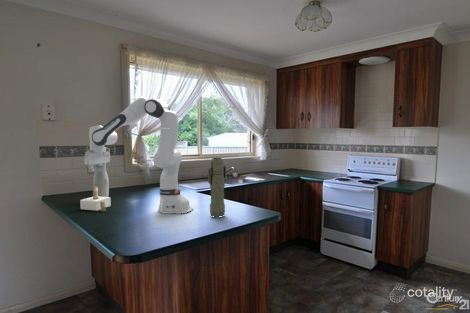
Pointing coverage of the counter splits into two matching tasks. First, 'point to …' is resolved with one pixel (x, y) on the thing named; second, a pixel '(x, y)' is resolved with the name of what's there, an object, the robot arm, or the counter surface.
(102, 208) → the short pin
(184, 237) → the counter surface
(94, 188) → the long pin
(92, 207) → the hole block
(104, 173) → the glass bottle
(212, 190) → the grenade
